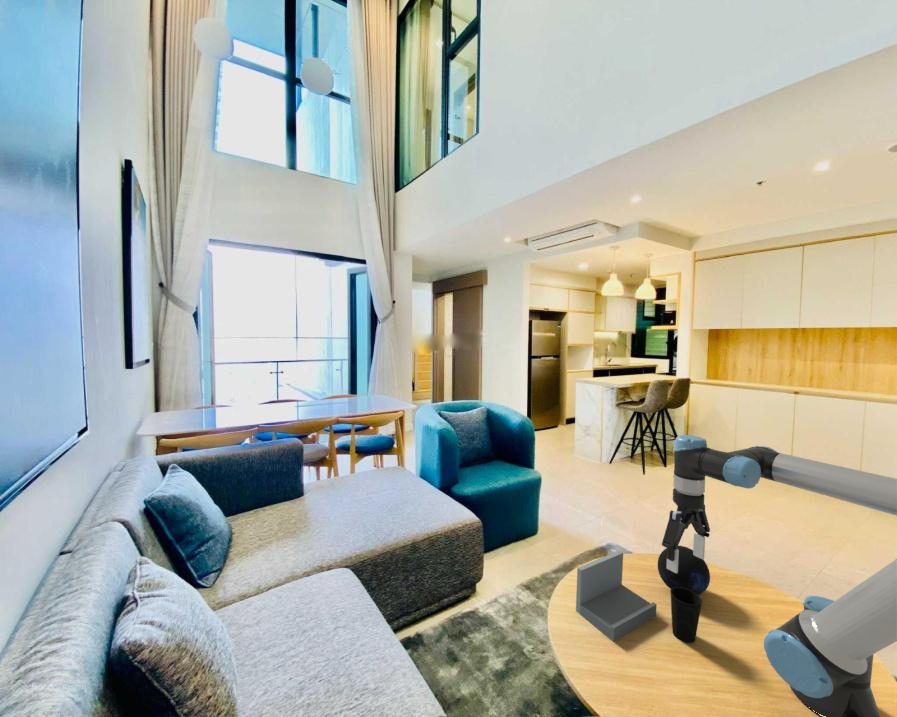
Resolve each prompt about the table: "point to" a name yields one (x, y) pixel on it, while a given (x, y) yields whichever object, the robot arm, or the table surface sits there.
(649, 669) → the table surface
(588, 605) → the shelf
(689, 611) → the cup
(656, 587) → the table surface
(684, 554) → the decorative sphere
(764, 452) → the robot arm
